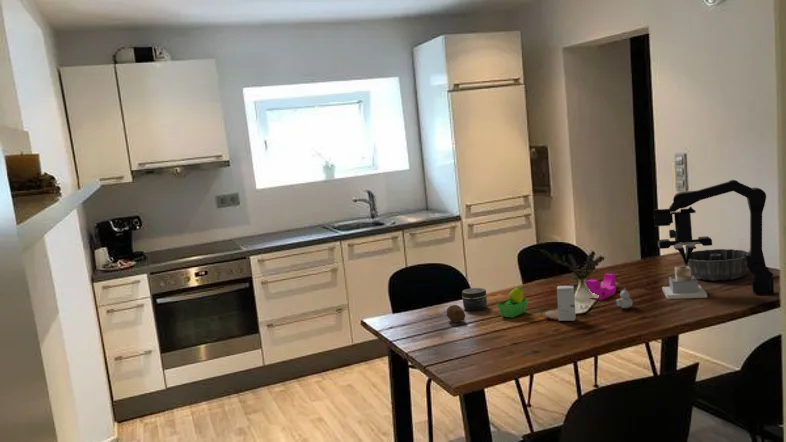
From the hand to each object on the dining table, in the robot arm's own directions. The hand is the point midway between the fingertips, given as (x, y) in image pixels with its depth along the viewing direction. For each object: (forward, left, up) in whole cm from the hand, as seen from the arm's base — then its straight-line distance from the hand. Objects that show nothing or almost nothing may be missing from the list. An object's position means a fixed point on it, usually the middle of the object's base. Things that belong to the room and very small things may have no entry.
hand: (685, 264), depth 244 cm
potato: (+87, +29, -12) cm, 93 cm away
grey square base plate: (+1, 0, -12) cm, 12 cm away
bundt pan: (-16, -27, -12) cm, 33 cm away
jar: (+82, +11, -12) cm, 84 cm away
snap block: (+1, 0, -6) cm, 6 cm away
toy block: (+31, -3, -12) cm, 33 cm away
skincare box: (+45, +31, -12) cm, 56 cm away
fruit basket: (+65, +22, -12) cm, 70 cm away
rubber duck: (+25, +19, -12) cm, 33 cm away
